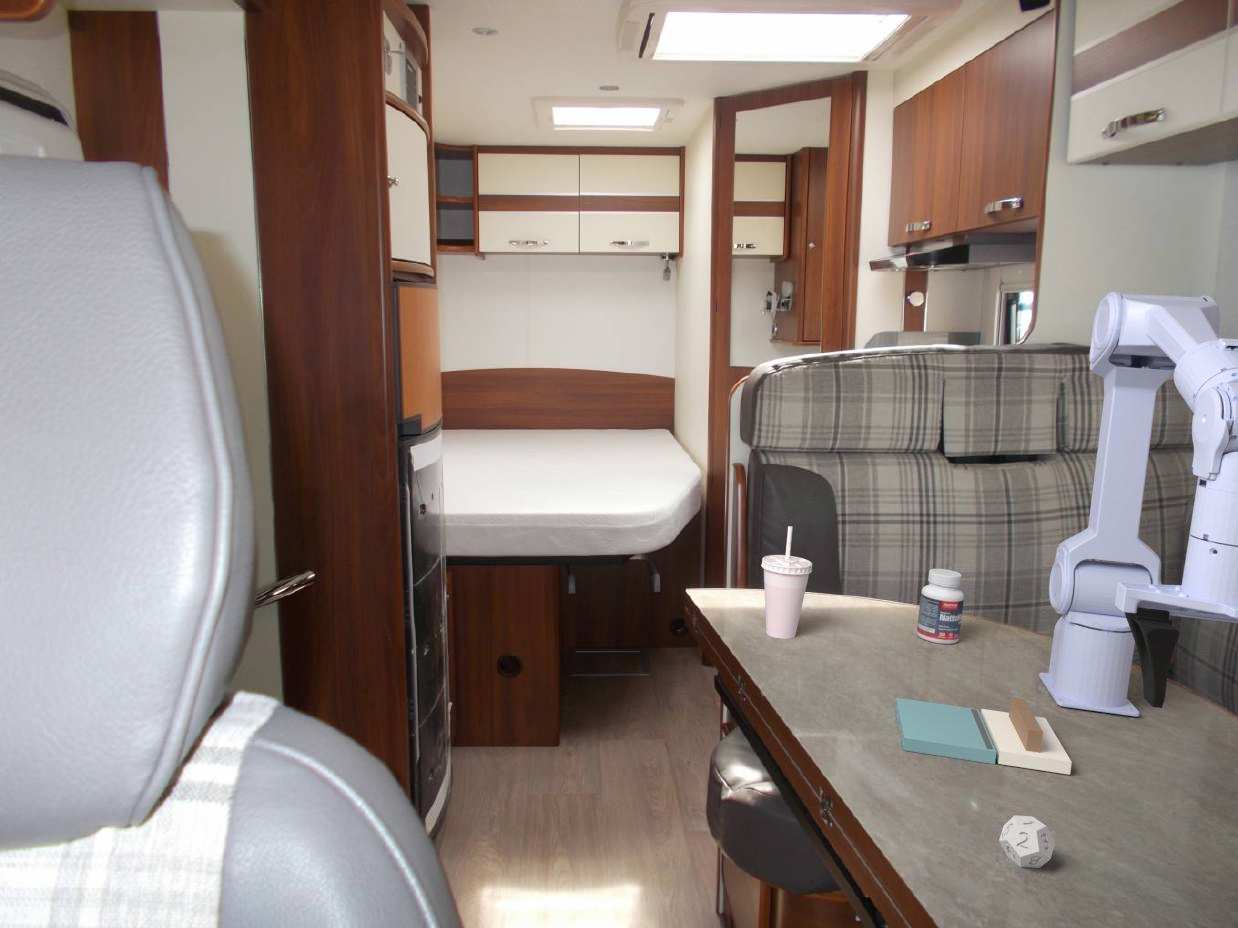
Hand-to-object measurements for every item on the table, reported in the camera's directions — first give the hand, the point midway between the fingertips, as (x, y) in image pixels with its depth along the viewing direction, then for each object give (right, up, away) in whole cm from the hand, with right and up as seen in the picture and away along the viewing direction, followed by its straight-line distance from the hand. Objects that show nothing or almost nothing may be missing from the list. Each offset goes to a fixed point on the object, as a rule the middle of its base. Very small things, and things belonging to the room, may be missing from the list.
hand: (1206, 709), depth 70 cm
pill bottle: (-4, -4, +47) cm, 47 cm away
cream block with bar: (-8, -8, +15) cm, 19 cm away
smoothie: (-25, -3, +44) cm, 51 cm away
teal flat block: (-15, -7, +17) cm, 23 cm away
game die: (-16, -10, -4) cm, 20 cm away
